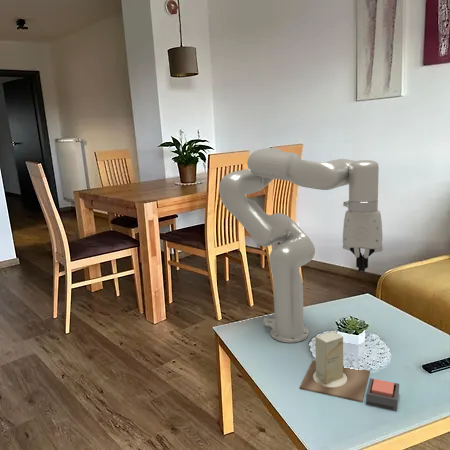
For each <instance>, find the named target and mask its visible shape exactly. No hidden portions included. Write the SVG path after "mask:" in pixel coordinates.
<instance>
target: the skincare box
mask: <svg viewBox="0 0 450 450" xmlns="http://www.w3.org/2000/svg"><path fill="white" fill-rule="evenodd" d="M315 361H316V377H317V378H318V379H320V380H321V381H323V382H324V383H325V384H327V383H330V382H333V381H335V380H338V379H340V378H343V366H344V336H343V335H341V334H339V333H338V332H336V331H334V330H331V331H328V332H325V333H322V334H319V335H316V336H315Z"/></svg>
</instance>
